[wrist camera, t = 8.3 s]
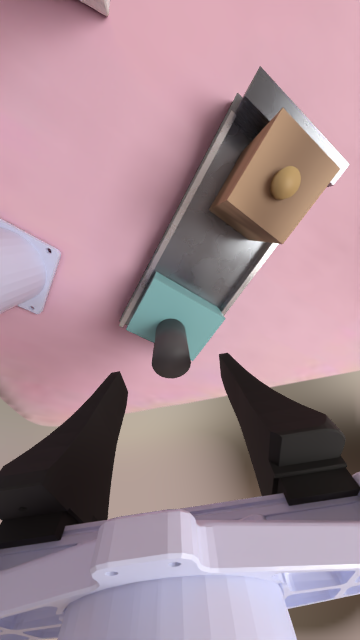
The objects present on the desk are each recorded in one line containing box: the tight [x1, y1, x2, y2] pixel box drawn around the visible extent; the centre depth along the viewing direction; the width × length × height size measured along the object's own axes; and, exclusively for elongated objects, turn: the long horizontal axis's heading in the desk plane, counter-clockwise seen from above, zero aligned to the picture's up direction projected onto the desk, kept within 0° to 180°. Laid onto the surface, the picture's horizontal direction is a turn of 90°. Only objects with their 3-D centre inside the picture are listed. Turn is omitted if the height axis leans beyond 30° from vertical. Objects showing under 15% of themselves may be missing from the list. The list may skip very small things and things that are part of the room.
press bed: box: [119, 66, 350, 328], centre depth 18 cm, size 10×22×4 cm, turn 149°
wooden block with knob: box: [209, 108, 340, 244], centre depth 14 cm, size 5×5×6 cm
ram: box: [126, 271, 225, 378], centre depth 18 cm, size 8×6×8 cm
